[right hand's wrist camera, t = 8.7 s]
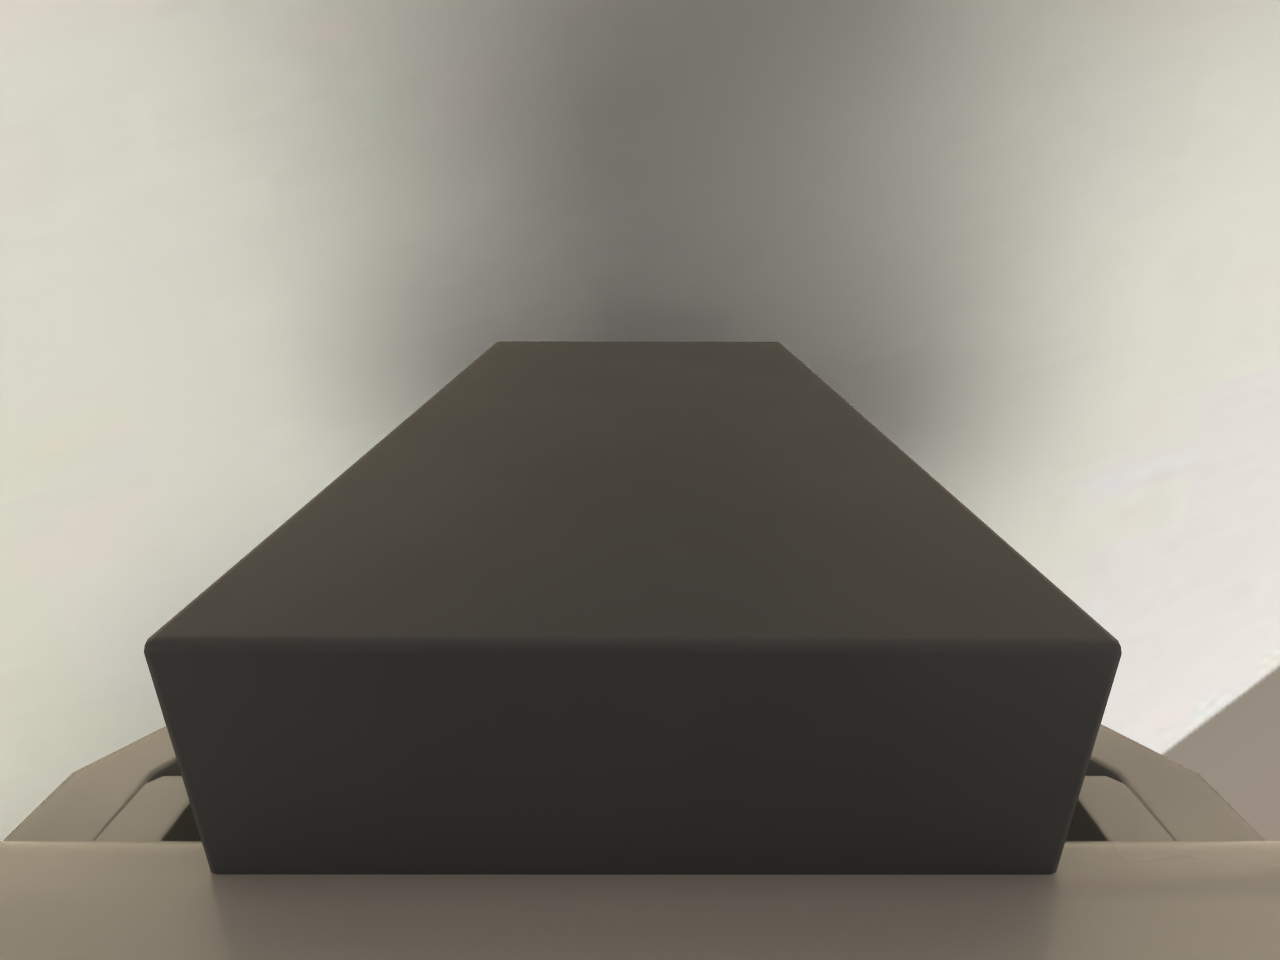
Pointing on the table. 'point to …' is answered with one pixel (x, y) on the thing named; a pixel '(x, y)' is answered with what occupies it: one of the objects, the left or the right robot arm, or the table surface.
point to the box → (633, 644)
